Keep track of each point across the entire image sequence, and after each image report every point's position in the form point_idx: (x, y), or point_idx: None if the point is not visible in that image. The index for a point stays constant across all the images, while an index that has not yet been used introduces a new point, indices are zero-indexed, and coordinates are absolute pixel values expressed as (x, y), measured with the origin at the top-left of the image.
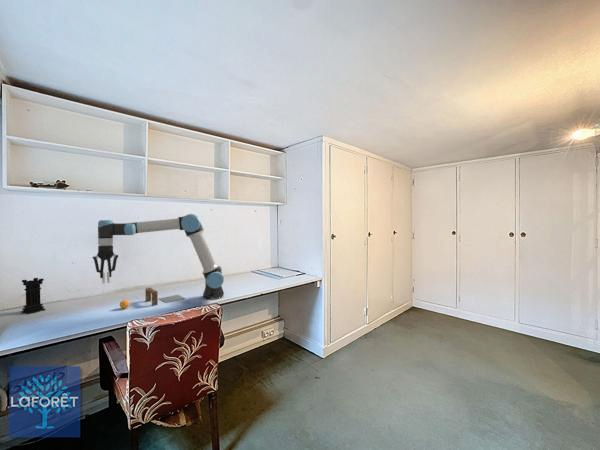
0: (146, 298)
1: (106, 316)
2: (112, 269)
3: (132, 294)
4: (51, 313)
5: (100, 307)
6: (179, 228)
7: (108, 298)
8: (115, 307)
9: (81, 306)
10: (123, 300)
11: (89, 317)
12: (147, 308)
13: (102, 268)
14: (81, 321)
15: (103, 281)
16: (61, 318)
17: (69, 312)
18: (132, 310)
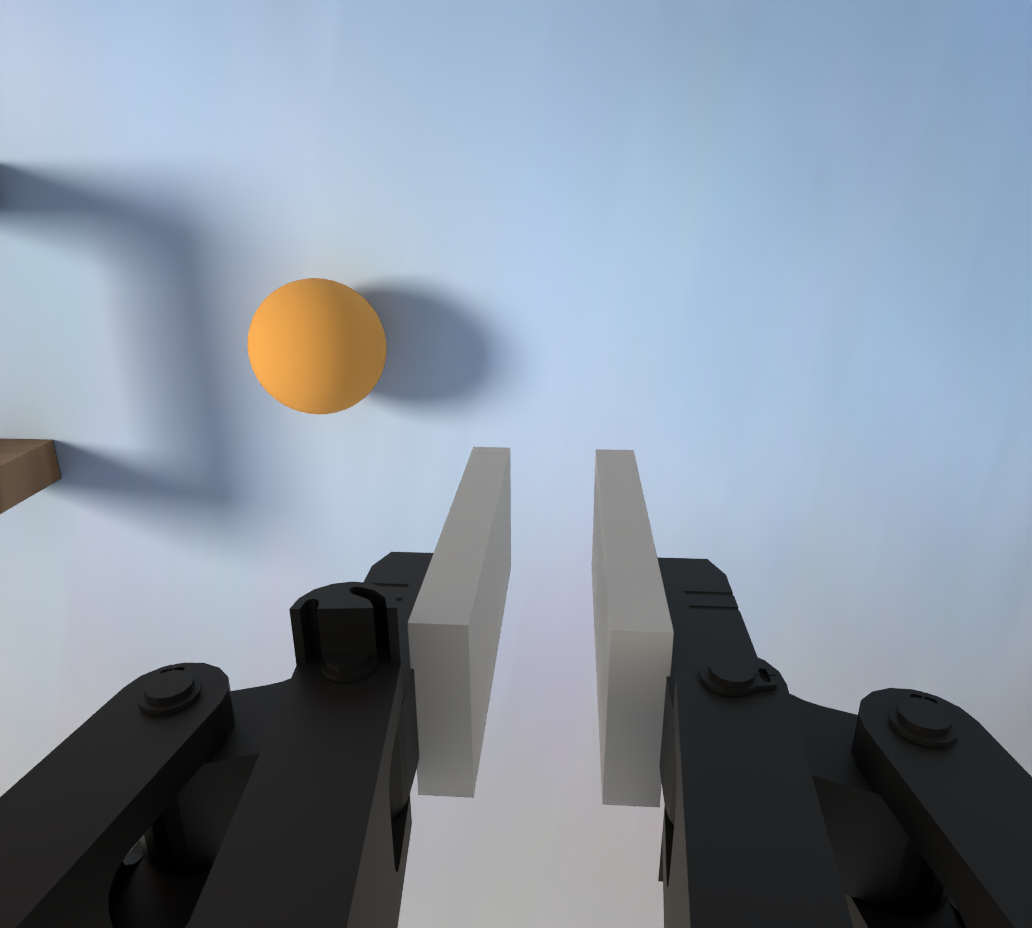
0: (18, 456)
1: (605, 118)
2: (226, 748)
3: None
4: (1016, 745)
5: (566, 604)
6: None
7: (420, 887)
8: (425, 473)
9: None
10: (313, 356)
11: (779, 251)
12: (67, 80)
13: (751, 834)
14: (906, 132)
15: (632, 471)
16: (1019, 471)
17: (876, 650)
18: (264, 146)
